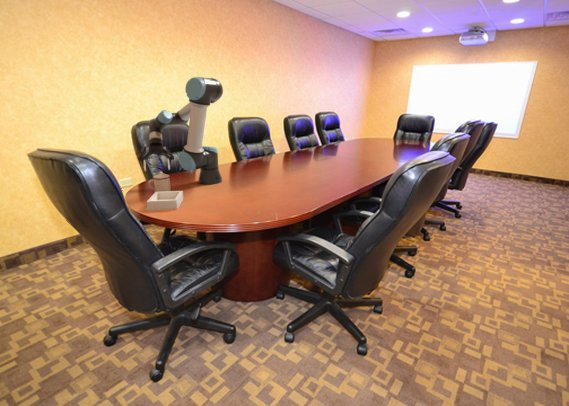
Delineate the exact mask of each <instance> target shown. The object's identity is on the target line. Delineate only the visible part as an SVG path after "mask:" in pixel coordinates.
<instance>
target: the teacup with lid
mask: <svg viewBox="0 0 569 406" xmlns="http://www.w3.org/2000/svg"><path fill="white" fill-rule="evenodd" d="M170 178H171V177H170V175H169V174H166V173H163V171H159V172H158V173H157V174H156V175H153V177H152V179H150V180H149V181H148V186H149V188H151V189H154V190H155V191H154V192H164V191H172V187H171V181H170ZM152 182H154V186H152V185H151V183H152Z"/></svg>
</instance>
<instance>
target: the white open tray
mask: <svg viewBox="0 0 569 406" xmlns="http://www.w3.org/2000/svg"><path fill="white" fill-rule="evenodd" d="M183 200H184V191H183V190H171V191H164V192H156V191H154V193H153V194H152V195H151V196H150V198H149V199H147V201H146V206H147V211H157V210H158V211H161V210H162V211H163V210H178V209H179V207H180V205H181V204H182V202H183Z"/></svg>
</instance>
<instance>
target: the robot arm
mask: <svg viewBox="0 0 569 406" xmlns="http://www.w3.org/2000/svg"><path fill="white" fill-rule="evenodd" d="M184 89H185V94H186V97H187V98H188V103H187V104H186V105H185V106H183V107H182V108H181V109H179V110H178V111H176V112H170V111H168V110H166V109H163V110H162V111H160V112H159V113H158V115H156V117H155V118H152V119H150V120H149V121H148V131H149V132H148V133H149V134H148V135H149V139H148V140H149V147H146V146H143V150H142V151H141V153H140V155H139V156H138V158H137V159H138V161H139V162H141V166H142V167H143V171H144V172H147V166H146V165H147V162H146V161H147V160H148V159H149V158H150V157H151V156H153V155H162V156H164V157H165V158H166V160H167V169H168V171H170V170H171V165H172V161H173V160H175V156H174V154H173V152H171V150H170V148H169V147H168V145H165V146H164V145H163V143H164V142H163V130H165V129H166V127H167V126H177V125H178V126H179V125H181V126H182V125H186V124H188V130H187V131H188V132H187V141H186V145H184V146H183V151H182V152H180V153H179V154H178V161H179V164H180V166H181V169H183V170H184V171H187V172H188V171H189V172H190V171H191V172H192V171H196V170H199V169H200V171H199V175H198V183H200V184H202V185H214V184H219V183H221V182H223V178H222V175H221V172H220V170H219V156H218V154H219V153H218V149H217V147H215V146H206V145H203V141H204V140H203V139H204V135H205V134H204V131H205V125H206V118H207V111H208V107H210V106H211V104H215V103H217V101H219V100H220V99H221V97H222V96H223V93H224V89H223V85H222V83H221V82H220V81H219V80H218V79H216V78H213V77H211V78H210V77H200V76H196V77H195V76H194V77H191V78H190V79H188V81H187V82H186V85H185V88H184ZM165 151H166V152H165Z"/></svg>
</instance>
